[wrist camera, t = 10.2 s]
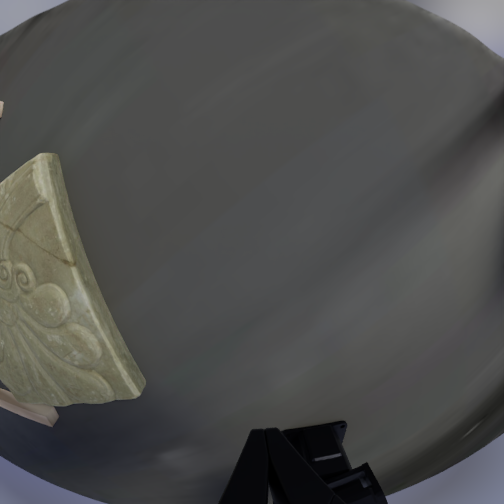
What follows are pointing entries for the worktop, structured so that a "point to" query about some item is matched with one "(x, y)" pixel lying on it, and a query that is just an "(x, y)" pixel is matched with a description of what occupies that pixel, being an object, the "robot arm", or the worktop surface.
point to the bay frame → (28, 410)
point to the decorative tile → (54, 300)
